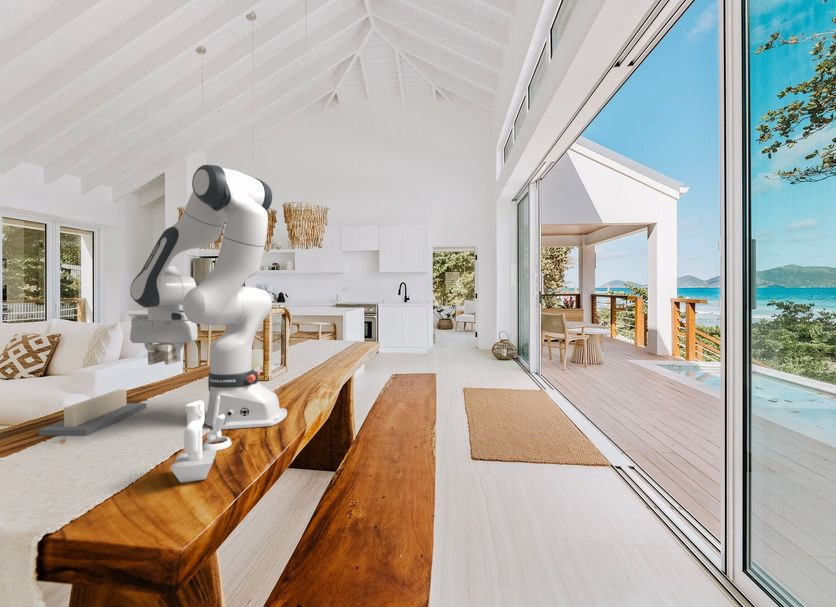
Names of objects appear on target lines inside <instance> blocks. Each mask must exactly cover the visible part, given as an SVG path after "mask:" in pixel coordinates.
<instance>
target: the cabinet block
mask: <svg viewBox="0 0 836 607" xmlns="http://www.w3.org/2000/svg"><path fill="white" fill-rule="evenodd" d="M177 347H178V346H176V343H153V345H148V351H147V364H148V365H152V366H153V365H155V364H159V363H162V362H164V365H171V364H175V363H178V362H181V355H180V356H173V351H176V349H177Z"/></svg>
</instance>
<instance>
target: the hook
mask: <svg viewBox="0 0 836 607" xmlns="http://www.w3.org/2000/svg"><path fill="white" fill-rule="evenodd" d="M224 419H225V415H224V414H222V415H220V416H218V417H217V419H216V421H215V424H214V427H213V428H212V430H209V431H208V432H207V434H206V439H207V440H204V443H203V444H202V451H207V450H215V449H217V451H221V450H224V449H227V448H230V446H232V441H231V439H230V437H228V436H222V429H221V427H222V425H223V422H224ZM219 442H220V443H219Z"/></svg>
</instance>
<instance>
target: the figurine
mask: <svg viewBox="0 0 836 607" xmlns="http://www.w3.org/2000/svg"><path fill="white" fill-rule="evenodd" d="M185 412H186V427H185V429H184V431H183V432H184V433H183V451H184V452H182V453H178V455H177V456H176V458H175V459H174V461H173V463H172V464H171V466H170V468H169V469H170V470H171V472H172V473H173V475H175V478H177V480H178V481H179V483H180V484H181V483H183V484H184V483H188V482H195V481H202V480H206V479H207V477H208V474H209V473H210V469H211V468H212V466H213V463H214V460H215V457H216V454H217V452H218V450H217V449H215V450H207V451H206V450H203V449H202V447H203V426H204V424H205V423H204V420H205V417H206V413H205V401H203V400H194V401H193V402H190V403H189V402H188V403H187V404H185Z"/></svg>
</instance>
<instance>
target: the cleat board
mask: <svg viewBox="0 0 836 607" xmlns="http://www.w3.org/2000/svg"><path fill="white" fill-rule="evenodd" d="M127 402H128V401H127V389H119V388H118V389H116V390H113V391H111V392H108V393H104V394H102V395H98V396H95V397H92V398H90V399H87V400H84V401H82V402H78V403H76V404H72V405H70V406H67V407H63V420H61V421H58V422H55V423H53V424H51V425H48V426H45V427H42V428H39V429H38V430H37V431H38V433H37V435H38V436H39V437H40V436H43V437H45V436H52V437H53V436H88V435H90V434H92V433H94V432H96V431H99V430H101V429H103V428H106V427H108V426H110V425H111V424H114V423H117V422H118V420H119V421H120V419H121V420H123V419H125V418H127V416H128V417H129V415H130V416H132V415H134V414H136V413H138V411H139V412H140V410H141V411H143V410H145V409H147V403H141V402H139V403H130V402H129V403H127ZM144 408H145V409H144ZM142 409H143V410H142ZM135 412H136V413H135ZM133 413H134V414H133ZM131 414H132V415H131ZM122 418H123V419H122ZM116 421H117V422H116Z"/></svg>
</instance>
